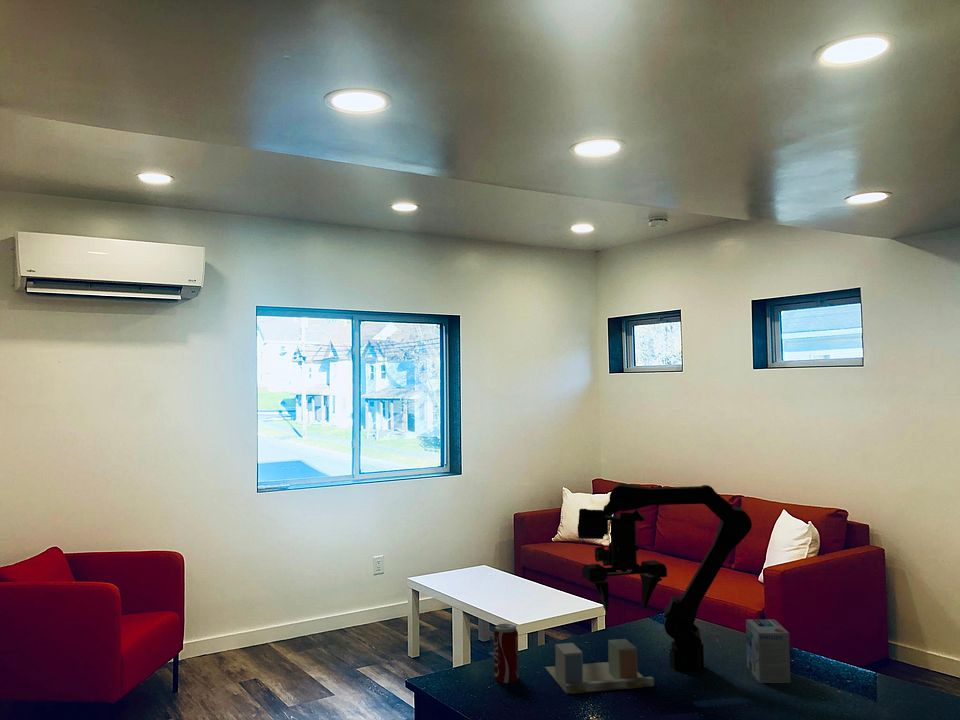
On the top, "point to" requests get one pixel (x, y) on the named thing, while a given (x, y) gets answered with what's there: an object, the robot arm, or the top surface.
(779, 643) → the light bulb box
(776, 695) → the top surface
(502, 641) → the soda can
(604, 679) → the beige shallow tray
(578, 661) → the cream carton
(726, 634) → the top surface
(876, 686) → the top surface
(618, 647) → the sage carton
